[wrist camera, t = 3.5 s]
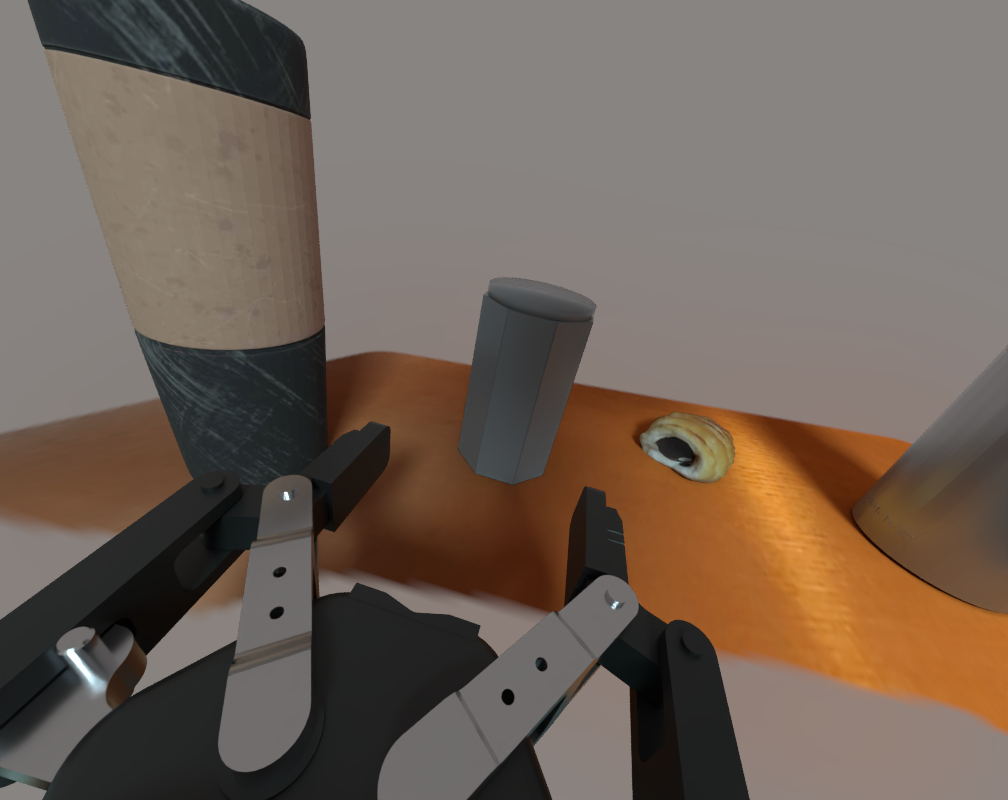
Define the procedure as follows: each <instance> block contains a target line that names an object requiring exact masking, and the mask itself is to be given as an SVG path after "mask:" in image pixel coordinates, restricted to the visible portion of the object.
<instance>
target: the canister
mask: <svg viewBox="0 0 1008 800" xmlns="http://www.w3.org/2000/svg"><path fill="white" fill-rule="evenodd" d="M595 309H596V304H595V303H594V302H593V301H592V300H590V299H589V298H587V297H585V296H583V295H581V294H579V293H576V292H574V291H571V290H568V289H565V288H562V287H559V286H555V285H552V284H548V283H543V282H539V281H533V280H527V279H521V278H506V277H504V278H495V279H492V280H491V281H490V282H489V288H488V291H487V292H486V293H485V294H484V296H483V302H482V307H481V313H480V320H479V326H478V332H477V338H476V344H475V350H474V356H473V362H472V368H471V374H470V380H469V386H468V392H467V398H466V404H465V410H464V416H463V422H462V429H461V435H460V441H459V447H458V450H459V452H460V453H461V455H462V456H463V457H464V459H465V460H466V462H467V463H468V464H469V466H470V467H471V468H472V470H473V471H474V473H476V474H479V475H482V476H485V477H489V478H492V479H495V480H498V481H502V482H505V483H508V484H511V485H512V484H513V485H514V484H517V483H520V482H523V481H526V480H529V479H533V478H536V477H539V476H542V475H543V473H544V470H545V467H546V464H547V461H548V458H549V455H550V452H551V449H552V446H553V443H554V440H555V437H556V434H557V431H558V428H559V424H560V421H561V418H562V415H563V412H564V409H565V406H566V403H567V400H568V397H569V394H570V391H571V388H572V385H573V382H574V379H575V376H576V373H577V370H578V367H579V364H580V361H581V358H582V355H583V352H584V349H585V346H586V342H587V340H588V337H589V334H590V331H591V328H592V325H593V316H594V313H595Z"/></svg>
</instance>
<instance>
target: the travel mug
mask: <svg viewBox="0 0 1008 800" xmlns="http://www.w3.org/2000/svg"><path fill="white" fill-rule="evenodd" d="M28 3H29V6H30V9H31V12H32V15H33V18H34V22H35V25H36V28H37V31H38V34H39V37H40V40H41V43H42V45H43V46H44V47H45V49H46V50H44V53H45V55H46V58H47V62H48V65H49V68H50V71H51V74H52V77H53V81H54V83H55V87H56V90H57V93H58V96H59V99H60V102H61V105H62V108H63V112H64V115H65V117H66V121H67V124H68V127H69V130H70V133H71V136H72V139H73V142H74V146H75V149H76V152H77V155H78V158H79V161H80V164H81V167H82V170H83V174H84V177H85V180H86V183H87V186H88V189H89V192H90V195H91V198H92V201H93V204H94V208H95V210H96V214H97V217H98V220H99V223H100V226H101V229H102V232H103V236H104V239H105V242H106V245H107V248H108V251H109V254H110V257H111V260H112V264H113V266H114V270H115V273H116V276H117V279H118V282H119V285H120V288H121V291H122V295H123V298H124V301H125V304H126V307H127V310H128V313H129V316H130V319H131V322H132V325H133V327H134V329H135V333H136V336H137V338H138V341H139V344H140V347H141V349H142V352H143V354H144V357H145V359H146V362H147V365H148V367H149V370H150V373H151V375H152V378H153V380H154V383H155V386H156V388H157V391H158V394H159V396H160V399H161V401H162V404H163V407H164V409H165V412H166V414H167V417H168V420H169V422H170V425H171V427H172V430H173V433H174V435H175V438H176V440H177V443H178V446H179V448H180V451H181V453H182V456H183V458H184V461H185V463H186V466H187V468H188V470H189V472H190V474H191V475H192V477H193V478H194V479H195V478H197V477H199V476H201V475H203V474H206V473H209V472H213V471H231V472H234V473H235V474H237V475H238V476H239V478H240V482H241V484H248V485H268V484H269V483H271V482H272V481H274V480H276V479H278V478H280V477H283V476H288V475H298V474H299V473H300V472H301V471H302V470H303V469H305V468H306V467H307V466H308V465H309V464H310V463H311V462H312V461H314V460H315V459H316V458H317V457H318V456H319V455H320V454H321V453H323V452H324V451H326V449H327V396H326V354H325V352H326V351H325V325H324V322H325V317H324V302H323V288H322V274H321V259H320V245H319V230H318V215H317V202H316V186H315V173H314V158H313V144H312V129H311V121H310V118H311V114H310V99H309V85H308V70H307V58H306V50H305V46H304V44H303V41H302V40H301V38H300V37H299V36H298V35H297V34H296V33H294V32H293V31H292V30H291V29H289V28H288V27H287V26H285V25H284V24H282V23H281V22H279V21H278V20H276V19H274V18H273V17H271V16H269V15H267V14H266V13H264V12H262V11H260V10H259V9H257V8H255V7H253V6H251V5H249V4H247V3H245V2H243V1H241V0H28Z"/></svg>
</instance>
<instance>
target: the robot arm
mask: <svg viewBox="0 0 1008 800" xmlns="http://www.w3.org/2000/svg"><path fill="white" fill-rule="evenodd" d="M390 433H391V430H390V427H389V426H386V425H382V424H379V423H376V422H372V421H371V422H369V423H368V424H367V425H366V426H365V427H364V428H363V429H362V430H360V431H358V430H353V431H350V432H348V433H346V434H343V435H342V436H341V437H339V438H338V439H337V440H336V441H335V442H334V443H333V445H330V446H329V447H328V448H327V449H326V451H324V452H323V453H321V454H320V455H319V456H318V457H317V458H316V459H315V460H314V461H312V462H311V463H310V464H309V465H308V466H307V467H306V468H305V469H303V470H302V471H301V472H300V473H299V474H298V475H288V476H283V477H280V478H278V479H276V480H274V481H272V482H271V483H269V484H268V485H248V484H241V482H240V478H239V476H238V475H237V474H235V473H234V472H231V471H213V472H209V473H206V474H203V475H201V476H199V477H197V478H195V479H194V480H192V481H191V482H189V483H188V484H187V485H185V486H184V487H182V488H181V489H180V490H178V491H177V492H176V493H174V494H173V495H171V496H170V497H169V498H167V499H166V500H165V501H163V502H162V503H160V504H159V505H158V506H156V507H155V508H154V509H152V510H151V511H149V512H148V513H147V514H145V515H144V516H143V517H141V518H140V519H138V520H137V521H136V522H134V523H133V524H132V525H130V526H129V527H127V528H126V529H125V530H123V531H122V532H121V533H119V534H118V535H116V536H115V537H114V538H112V539H111V540H110V541H108V542H107V543H105V544H104V545H103V546H101V547H100V548H99V549H97V550H96V551H95V552H93V553H92V554H90V555H89V556H88V557H86V558H85V559H84V560H82V561H81V562H79V563H78V564H77V565H75V566H74V567H72V568H71V569H70V570H68V571H67V572H66V573H64V574H63V575H61V576H60V577H59V578H57V579H56V580H55V581H53V582H52V583H50V584H49V585H48V586H46V587H45V588H44V589H42V590H41V591H40V592H38V593H37V594H35V595H34V596H33V597H32V598H30V599H28V600H27V601H26V602H24V603H23V604H22V605H20V606H19V607H18V608H16V609H15V610H13V611H12V612H11V613H9V614H8V615H6V616H5V617H4V618H2V619H1V620H0V788H2V787H5V786H8V785H10V784H13V783H15V782H20V783H24V784H27V785H30V786H33V787H36V788H39V789H43V790H46V791H47V792H46V794H45V796H44V797H43V799H42V800H552V798H551V795H550V792H549V789H548V787H547V784H546V781H545V778H544V775H543V773H542V770H541V767H540V764H539V761H538V758H537V756H536V753H535V750H534V747H533V746H534V745H535V744H536V743H537V742H538V740H539V739H540V738H541V737H542V736H543V735H544V733H545V732H546V731H547V730H548V729H549V728H550V726H551V725H552V724H553V723H554V721H555V720H556V719H557V718H558V716H559V715H560V714H561V712H562V711H563V710H564V708H565V707H566V706H567V705H568V704H569V702H570V701H571V700H572V699H573V698H574V697H575V695H576V694H577V693H578V692H579V691H580V690H581V688H582V687H583V686H584V685H585V684H586V683H587V681H588V680H589V679H590V678H591V677H592V676H593V675H594V673H595V672H596V671H597V670H598V669H599V668H600V666H601V665H602V666H603V667H604V668H606V669H607V670H608V671H610V672H611V673H612V674H614V675H615V676H616V677H618V678H619V679H620V680H622V681H623V682H625V683H626V684H627V685H628V686H630V715H631V716H630V718H631V754H632V790H633V800H750V799H749V795H748V790H747V786H746V782H745V777H744V773H743V768H742V764H741V760H740V755H739V751H738V747H737V742H736V738H735V734H734V729H733V725H732V720H731V716H730V712H729V707H728V703H727V699H726V694H725V690H724V685H723V681H722V677H721V672H720V668H719V664H718V659H717V655H716V652H715V649H714V647H713V645H712V644H711V642H710V641H709V639H708V638H707V637H706V635H705V634H704V633H703V632H702V631H701V630H700V629H698V628H697V627H696V626H694V625H692V624H691V623H689V622H686V621H683V620H674V621H671V622H670V623H669V624H666V623H665V622H663V621H662V620H660V619H659V618H657V617H656V616H654V615H653V614H651V613H650V612H648V611H647V610H645V609H644V608H643V607H642V606H641V605H640V604H639V603H638V600H637V597H636V595H635V593H634V591H633V590H632V589H631V587H630V586H629V584H628V575H627V565H626V555H625V546H624V536H623V524H622V520H621V518H620V516H619V515H618V513H617V511H616V509H613V508H610V507H607V506H606V495H605V492H604V491H601V490H597V489H594V488H591V487H587V486H585V487H584V489H583V491H582V494H581V496H580V499H579V501H578V503H577V506H576V508H575V511H574V513H573V516H572V520H571V524H570V531H569V546H568V560H567V574H566V588H565V603H564V608H563V609H562V610H561V611H559V612H558V613H557V612H556V611H553V612H551V613H550V614H548V615H547V616H546V617H545V618H544V619H542V620H541V621H540V622H539V623H538V624H537V625H535V626H534V627H533V628H532V629H531V630H530V631H529V632H527V633H526V634H525V635H524V636H523V637H522V638H520V639H519V640H518V641H517V642H516V643H515V644H514V645H512V646H511V647H510V648H509V649H508V650H507V651H505V653H503V654H502V655H501V656H500V657H498V656H497V654H496V653H495V651H494V650H493V649H492V648H491V647H490V646H489V645H488V644H487V643H486V642H485V641H484V640H483V639H481V638H480V637H478V633H479V629H480V625H477V624H474V623H472V622H469V621H466V620H463V619H460V618H457V617H454V616H451V615H445V614H430V613H416V612H413V611H411V610H409V609H408V608H407V607H405V606H404V605H402V604H401V603H400V602H398V601H397V600H396V599H394V598H393V597H391V596H390V595H389V594H387V593H385V592H382V591H379V590H377V589H374V588H371V587H368V586H365V585H362V584H359V583H356V585H355V586H354V588H353V589H352V591H351V592H350V593H349V592H344V593H335V594H329V595H326V596H323V597H319V578H318V539H317V536H318V535H319V533H320V532H321V531H322V530H323V529H327V530H330V531H333V532H335V531H336V530H337V528H338V527H339V526H340V525H341V523H342V522H343V521H344V520H345V518H346V517H347V516H348V515H349V513H350V512H351V511H352V510H353V508H354V507H355V506H356V505H357V503H358V502H359V501H360V500H361V499H362V497H363V496H364V495H365V494H366V492H367V491H368V490H369V489H370V487H371V486H372V485H373V484H374V482H375V481H376V480H377V479H378V477H379V476H380V475H381V474H382V473H383V471H384V470H385V468H386V466H387V464H388V461H389V456H390ZM852 515H853V517H854V519H855V521H856V523H857V524H858V526H859V527H860V528H861V530H862V531H863V532H864V533H865V534H866V535H867V536H868V537H869V538H870V539H871V540H872V541H873V542H874V543H875V544H876V545H877V546H878V547H879V548H881V549H882V550H883V551H884V552H885V553H886V554H888V555H889V556H890V557H892V558H893V559H894V560H896V561H897V562H898V563H900V564H901V565H902V566H904V567H905V568H907V569H908V570H910V571H911V572H913V573H914V574H916V575H917V576H919V577H920V578H922V579H924V580H925V581H927V582H929V583H930V584H932V585H934V586H936V587H937V588H939V589H941V590H943V591H945V592H947V593H949V594H951V595H953V596H955V597H957V598H959V599H961V600H963V601H966V602H968V603H970V604H973V605H975V606H978V607H980V608H984V609H987V610H990V611H994V612H997V613H1005V614H1008V346H1007V347H1006V349H1005V350H1003V351H1002V352H1001V353H1000V354H999V355H998V356H997V357H996V358H995V359H994V360H993V362H992V363H991V364H990V365H989V366H988V367H987V368H986V369H985V370H984V371H983V372H982V373H981V374H980V375H979V376H978V377H977V378H976V379H975V380H974V381H973V382H972V383H971V384H970V385H969V386H968V387H967V389H966V390H965V391H964V392H963V393H962V394H961V395H960V396H959V397H958V398H957V399H956V400H955V401H954V402H953V403H952V404H951V405H950V406H949V407H948V408H947V409H946V410H945V411H944V413H943V414H942V415H941V416H940V417H939V418H938V419H937V420H936V421H935V422H934V423H933V424H932V425H931V426H930V427H929V428H928V429H927V430H926V431H925V432H924V433H923V434H922V435H921V436H920V437H919V439H917V441H916V442H915V443H914V444H913V445H912V446H911V447H910V448H909V449H908V450H907V451H906V452H905V453H904V454H903V455H902V456H901V457H900V458H899V459H898V460H897V461H896V462H895V463H894V464H893V465H892V467H891V468H890V469H889V470H888V471H887V472H886V473H885V474H884V475H883V476H882V477H881V478H880V479H879V480H878V481H877V482H876V483H875V484H874V485H873V486H872V487H871V488H870V489H869V490H868V491H867V492H866V494H865V495H864V496H863V497H862V498H861V499H860V500H859V501H858V502H857V503H856V504H855V505H854V506H853V508H852ZM245 550H250V555H249V562H248V568H247V575H246V582H245V589H244V596H243V603H242V610H241V616H240V623H239V630H238V637H237V640H236V641H234V642H232V643H230V644H228V645H226V646H225V647H223V648H221V649H219V650H217V651H215V652H214V653H211V654H209V655H208V656H206V657H204V658H202V659H200V660H198V661H197V662H194V663H193V664H191V665H189V666H187V667H185V668H183V669H181V670H179V671H177V672H175V673H174V674H172V675H170V676H168V677H166V678H164V679H162V680H161V681H158V682H157V683H155V684H153V685H151V686H149V687H147V688H145V689H143V690H142V691H140V692H138V693H136V694H135V695H133V696H131V695H132V693H133V691H134V688H135V686H136V685H137V683H138V682H139V681H140V679H141V677H142V676H143V674H144V672H145V669H146V665H147V658H146V655H147V654H148V653H149V652H150V651H151V650H152V649H153V648H154V647H155V646H156V645H157V643H158V642H159V641H160V640H161V639H162V638H163V637H164V636H165V635H166V634H167V633H168V632H169V631H170V630H171V629H172V628H173V626H174V625H175V624H176V623H177V622H178V621H179V620H180V619H181V618H182V617H183V616H184V615H185V614H186V613H187V612H188V611H189V609H190V608H191V607H192V606H193V605H194V604H195V603H196V602H197V601H198V600H199V599H200V598H201V597H202V596H203V595H204V593H205V592H206V591H207V590H208V589H209V588H210V587H211V586H212V585H213V584H214V583H215V582H216V581H217V580H218V579H219V578H220V576H221V575H222V574H223V573H224V572H225V571H226V570H227V569H228V568H229V567H230V566H231V565H232V564H233V563H234V562H235V561H236V559H237V558H238V557H239V556H240V555H241V554H242V553H243V552H244V551H245ZM130 696H131V697H130Z"/></svg>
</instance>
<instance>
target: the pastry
mask: <svg viewBox="0 0 1008 800" xmlns="http://www.w3.org/2000/svg"><path fill="white" fill-rule="evenodd" d="M639 441H640V444H641V446H642V450H643V451H645V452H646V453H647V455H649V456H650V457H651V458H653V459H654V460H656V461H657V462H659V463H661V464H663V465H665V466H667V467H669V468H671V469H673V470H674V471H676V472H677V473H679V474H680V475H682V476H684V477H685V478H687V479H690V480H692V481H697V482H701V483H709V482H715V481H717V480H719V479H720V478H722V477H724V476H725V475H726V472H727V470H728V469H729V467H730V466H731V465H732V464H733V463H734V457H735V447H734V445H733V438H732V436H731V434H730V433H729V432H728V431H727V430H725V429H723V428H722V427H721V426H720V425H718V424H717V423H716V422H715V421H714V420H712V419H711V418H708V417H704V416H698V415H693V414H685V413H678V412H674V413H671V414H670V415H668V416H662V417H659V418H657V419H656V420H654V421H653V423H652V424H651V425H650V427H649V429H648V430H647V431H646V432H645V433H642V434H641V435H640V438H639Z"/></svg>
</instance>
